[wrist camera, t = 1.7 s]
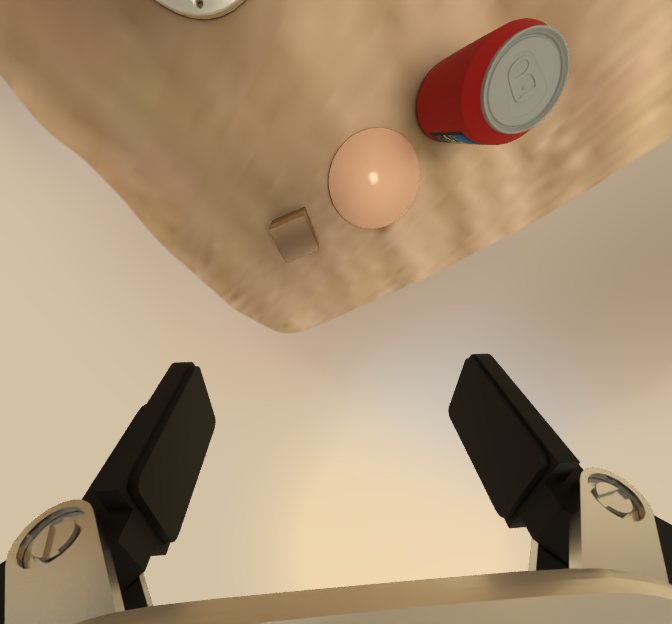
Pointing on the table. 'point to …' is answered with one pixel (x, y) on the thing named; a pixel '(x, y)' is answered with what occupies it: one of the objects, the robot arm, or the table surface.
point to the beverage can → (495, 85)
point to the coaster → (374, 178)
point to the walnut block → (294, 235)
